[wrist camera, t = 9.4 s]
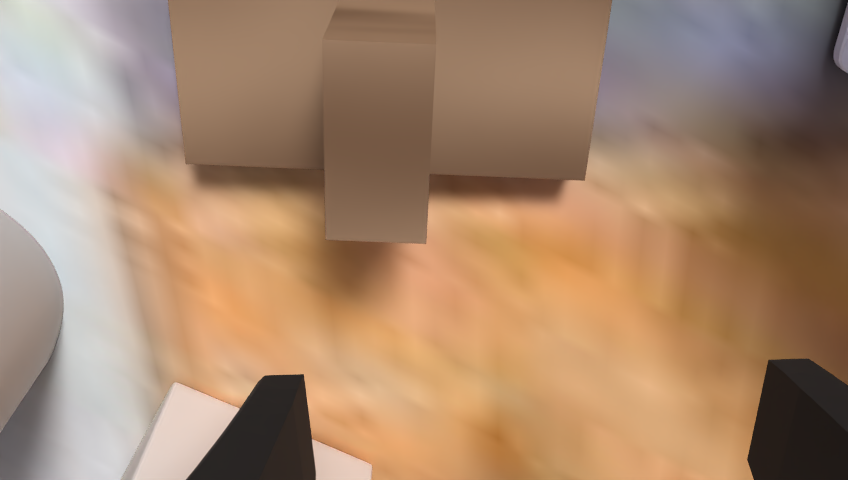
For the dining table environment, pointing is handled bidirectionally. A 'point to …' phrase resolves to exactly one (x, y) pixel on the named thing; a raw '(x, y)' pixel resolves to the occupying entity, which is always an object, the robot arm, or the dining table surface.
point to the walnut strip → (389, 95)
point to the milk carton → (211, 441)
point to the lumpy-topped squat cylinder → (25, 313)
